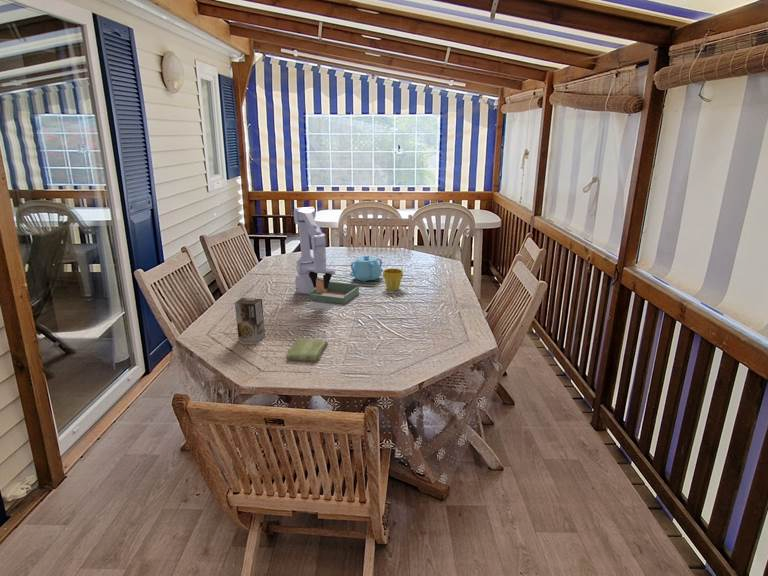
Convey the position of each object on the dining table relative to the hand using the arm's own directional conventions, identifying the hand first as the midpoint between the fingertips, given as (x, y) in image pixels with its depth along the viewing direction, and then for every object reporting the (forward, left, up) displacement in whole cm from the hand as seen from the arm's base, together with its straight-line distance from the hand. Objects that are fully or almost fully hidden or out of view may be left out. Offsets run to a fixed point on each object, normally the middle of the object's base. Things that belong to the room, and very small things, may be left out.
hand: (320, 287), depth 239 cm
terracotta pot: (0, 0, -2) cm, 2 cm away
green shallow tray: (0, +14, -9) cm, 17 cm away
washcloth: (+19, -49, -10) cm, 53 cm away
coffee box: (-8, -45, -9) cm, 47 cm away
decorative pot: (+3, +49, -9) cm, 50 cm away
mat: (0, -1, -9) cm, 9 cm away
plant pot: (+23, +37, -9) cm, 45 cm away
